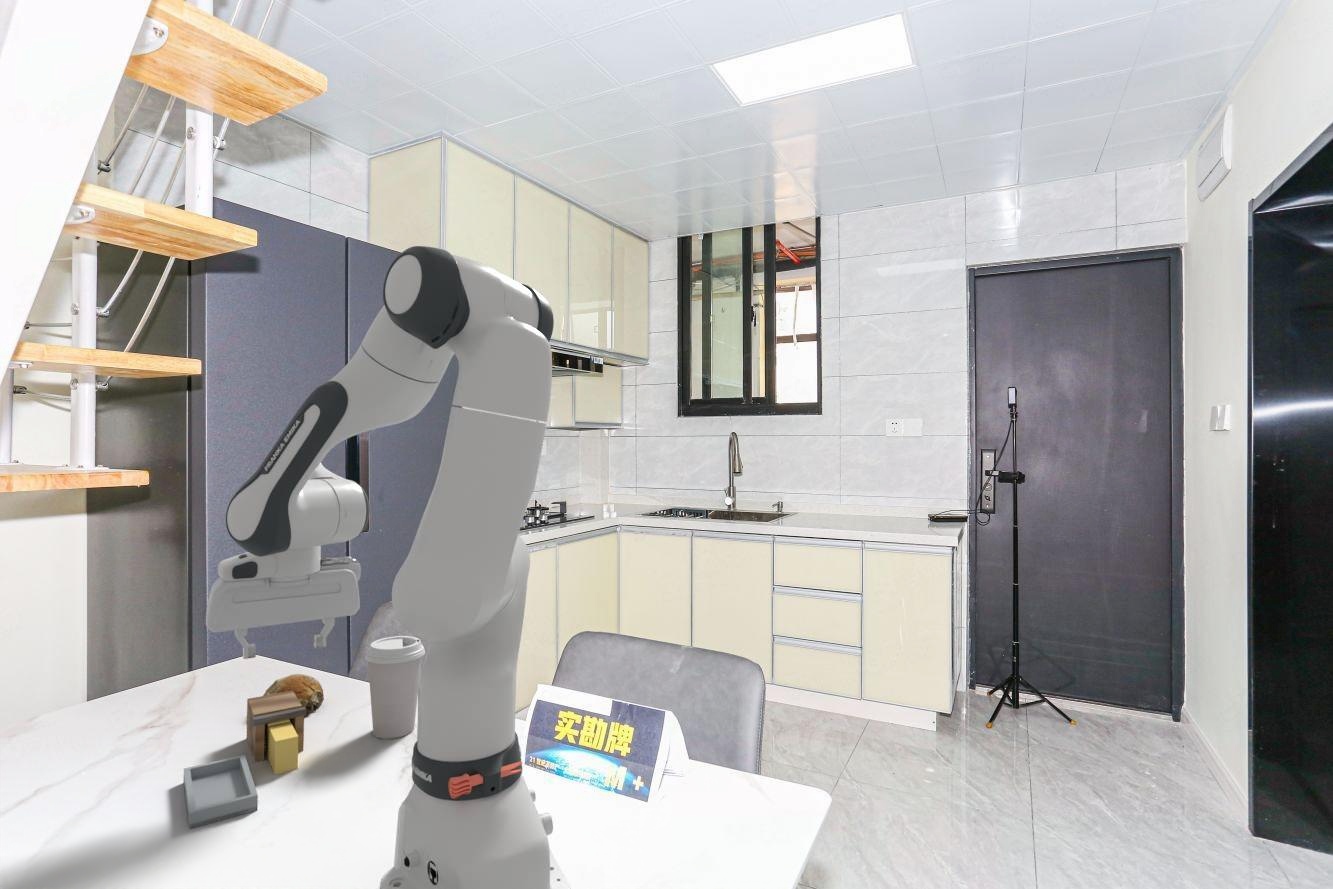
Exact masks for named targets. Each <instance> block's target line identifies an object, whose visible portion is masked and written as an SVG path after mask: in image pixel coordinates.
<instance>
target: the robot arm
mask: <svg viewBox="0 0 1333 889" xmlns="http://www.w3.org/2000/svg"><path fill="white" fill-rule="evenodd" d="M382 287H383V288H382V299H383V306H382V308H381V309H380V310H379V311H378V314H377V315H376V316H375V318H374V320H373V321H372V323H371V324H370V326H369V328H368V330H367V332H366V334H365V336H364V338H363V339H362V341H361V343H360V345H359V347H358V349H357V350H356V352H355V353H354V355H353V356H352V357H351V359H350V360H349V362H347V364H346V365H345V366H344V367H343V368H342V369H341V370H340V371H339V372H338V373H336V375H335V376H333V377H332V378H331V379H330V380H328V381H327V382H324V383H323V384H321V385H319V386H317V387H316V388H315V389H313V391H312V392H311V393H310V394H309V395H308V396H307V398H306V399H305V400H304V401H303V403H302V404H301V406H300V407H299V408H298V409H297V411H296V412H295V414H294V416H293V417H292V418H291V420H290V421H289V423H288V424H287V426H286V427H285V429H284V430H283V431H282V433H281V435H280V436H279V437H278V438H277V440H276V442H275V443H274V444H273V445H272V448H271V449H270V451H269V452H268V454H267V455H266V456H265V458H264V460H263V461H262V463H261V464H260V466H259V467H258V468H257V470H256V471H255V472H254V473H253V474H252V475H251V476H250V477H249V478H248V479H247V480H246V481H245V482H244V483H243V484H242V485H241V486H240V487H239V488H238V490H237V491H236V492H235V493H234V494H233V496H232V498H231V500H230V502H229V503H228V506H227V509H226V513H225V526H226V530H227V533H228V535H229V536H230V538H231V539H232V540H233V541H234V542H235V543H236V544H237V545H238V546H239V547H240V548H242V549H244V550H245V551H246V552H244V553H240V554H237V555H234V556H232V557H228V558H226V559H223V560H221V561H220V562H219V563H218V566H217V573H218V576H219V578H218V579H216V580H215V581H214V582H213V584H212V586H211V588H210V591H209V596H208V600H207V606H206V613H205V625H206V628H208V630H209V631H210V632H212V633H221V632H229V631H230V632H231V631H234V636H235V639H237V641H238V642H239V644H240V645H241V647H242V659H243V660H248V659H254V658H256V657H257V656H256V655H257V653H256V649H257V646H256V644H255V643H254V642H253V643H248V642H247V640H246V639H245V637H247V636H248V629H254V628H264V627H270V626H271V627H272V626H278V625H286V624H294V623H302V622H309V621H311V622H312V621H318V620H319V621H320V620H321V622H322V623H323V624H324V625H323V627H322V629H321V631H320V633H319V634H313V640H314V642H313V647H314V648H315V649H322V648H326V647H327V637H328V635H329V634H330V633H331V632H332V629H333V628H334V626H335V624H336V618H342V617H343V618H344V617H348V616H349V617H350V616H351V617H352V616H354V615H356V613H357V612H358V611H360V590H359V584H358V582H359V581H360V580H361V576H362V574H361V572H362V566H361V563H360V561H359V560H357V559H355V558H352V556H341V557H321V556H322V554H321V552H322V549H321V548H322V546H326V545H333V544H340V543H341V544H342V543H345V542H348V541H351V540H355V539H357V538H358V537H360V536H361V535H362V533H363V532H364V531H365V529H366V527H367V524H368V522H369V519H370V509H371V508H370V501H369V500H370V499H369V497H368V494H367V492H366V491H365V489H364V488H363V486H361V485H360V483H358V482H357V481H355V480H352V479H347V478H345V477H342V476H340V475H337V474H336V473H333V471H330V470H329V469H327V468H326V467H325V466H324V465H323V464H322V462H323V460H324V458H325V457H326V456H327V454H328V453H329V452H330V451H331V450H332V449H333V448H334V447H335V446H337V445H339V444H341V443H342V442H343V441H345V440H348V439H350V438H352V437H354V436H357V435H360V434H362V433H365V432H369V431H372V430H376V429H380V428H385V427H388V426H394V425H397V424H400V423H404V422H406V421H409V420H411V419H413V418H414V417H416V416H417V415H418V414H420V413H421V411H422V410H423V409H424V408H425V407H426V406H427V405H428V403H429V402H430V401H431V399H432V398H433V396H434V394H435V393H436V391H437V389H438V387H439V385H440V383H441V380H442V379H443V376H444V375H445V373H446V371H447V368H448V366H449V364H450V362H451V360H452V358H453V357H454V355H455V357H456V358H457V361H458V376H457V381H456V385H455V390H454V393H453V398H452V403H451V405H452V406H451V407H450V414H449V420H448V425H447V429H446V435H445V439H444V445H443V450H442V456H441V461H440V465H439V469H438V473H437V477H436V479H435V483H434V485H433V488H432V491H431V494H430V496H429V499H428V502H427V504H426V507H425V508H424V509H425V510H424V512H423V514H422V517H421V520H420V522H419V526H418V528H417V531H416V534H415V536H414V539H413V542H412V545H411V548H410V551H409V553H408V554H407V557H406V558H405V560H404V562H403V564H402V565H401V567H400V568H399V570H398V572H397V573H396V575H395V577H394V580H393V584H392V588H391V589H392V590H391V602H392V607H393V610H394V613H395V616H396V618H397V619H398V621H399V622H400V623H401V626H403V628H405V629H406V630H407V631H408V632H409V633H411V634H412V635H414V637H416V638H418V639H421V640H425V641H429V644H428V648H427V651H426V656H425V658H424V661H423V664H422V665H421V670H420V676H419V681H418V698H417V726H416V728H417V731H416V732H417V734H416V735H417V738H416V740H417V741H416V742H415V743H414V745H413V748H412V750H413V751H412V755H411V765H410V766H411V771H412V773H411V779H412V781H413V784H412V786H411V789H410V791H409V793H408V794H407V796H406V798H405V799H404V800H403V802H402V803H401V804H400V806H399V808H398V813H397V814H398V815H397V824H396V836H395V846H394V858H393V859H394V860H393V867H392V868H390V869H389V870H388V871H387V872H386V873H385V874H384V875H383V876H382V878H381V879H380V882H379V889H571V888H572V887H571V886H570V883H569V882H568V880H567V878H566V877H565V874H564V873H563V870H562V868H561V867H560V865H559V863H558V861H557V860H556V858H555V856H554V854H553V853H552V850H551V849H550V844H549V838H548V836H549V835H552V833H553V831H554V824H553V817H552V815H551V814H550V812H544V813H541V814H539V813H538V810H537V806H536V805H535V802H536V791H535V790H534V789H529V788H528V785H527V783H526V781H525V779H524V778H525V777H524V776H523V761H522V750H521V746H520V743H519V735H518V733H517V732H516V704H517V702H516V701H517V700H516V695H517V691H516V690H517V671H518V670H517V668H518V662H519V652H520V648H521V647H520V646H521V639H522V634H523V627H524V617H525V609H526V600H527V592H528V591H527V589H528V580H529V574H530V569H531V568H530V567H531V555H530V552H529V548H528V545H527V544H526V542H525V541H524V539H523V538H522V537H521V536H520V535H519V533H520V530H521V526H522V523H523V521H524V517H525V514H526V511H527V507H528V505H529V503H530V499H531V497H532V495H533V493H534V492H535V487H536V484H537V477H538V471H539V468H540V467H539V466H540V461H541V456H542V450H543V445H544V440H545V433H546V429H547V428H546V427H547V422H548V417H549V412H550V411H549V410H550V405H551V404H550V403H551V396H552V382H553V380H552V379H553V358H552V357H553V354H552V346H551V344H550V341H551V339H552V337H553V336H552V335H553V331H554V321H555V320H554V313H553V310H552V306H551V304H550V303H549V302H548V301H547V299H546V298H545V297H544V296H543V295H541V294H540V292H538V291H536V289H534V288H532V287H530V286H529V285H527V284H524V283H519V282H518V281H516V280H514V279H512V278H510V277H509V276H507V275H506V274H503V273H501V272H499V271H497V270H495V269H494V268H492V267H491V266H488V265H487V264H483V263H481V262H478V261H475V260H473V259H469V258H467V257H462V256H460V255H456V254H451V252H449V251H448V250H445V249H442V248H438V247H432V246H427V245H426V246H422V245H418V246H417V245H415V246H410V247H409V248H406V249H405V250H403V251H401V253H400V254H399V255H398V256H397V257H396V258H395V259H394V260H393V262H391V264H390V266H389V267H388V270H387V272H386V275H385V278H384V282H383V286H382ZM467 408H469V409H467ZM473 409H474V410H473ZM480 410H481V411H480ZM489 412H490V413H489ZM500 414H501V415H500ZM527 419H528V420H527ZM543 422H544V423H543Z"/></svg>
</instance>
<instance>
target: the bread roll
mask: <svg viewBox="0 0 1333 889" xmlns="http://www.w3.org/2000/svg"><path fill="white" fill-rule="evenodd" d="M287 691H293V692H294V693H295V695H296V697H297V698H298V700H299V702H300V703H301V705H302V707H305V708H306V716H308V715H311V714H313V713H315V712H316V711H317V710H318V709H319V708H320V707H321V706H322V704H323V701H324V700H325V698H324V689H323V687H322V685H321V683H320V681H319V680H318V679H316V678H315V677H314V676H311V675H308V674H303V673H295V674H290V675H288V676H284V677H281V678H278V679H276V680H275V681H273V683H272V684H270V686H268V688H267V689H266V690H265V692H264V693H263V695H262V696H265V695H271V694H276V693H282V692H287Z"/></svg>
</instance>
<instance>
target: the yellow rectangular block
mask: <svg viewBox="0 0 1333 889" xmlns="http://www.w3.org/2000/svg"><path fill="white" fill-rule="evenodd" d="M264 753H265V754H266V757H267V759H268V761H269V764H270V766H272V767H271V769H272V771H273V774H274V775H278V773H279V774H282V772H283V773H286V771H287V772H291V771H294V769H295V770H297V769H298V768H299V752H298V735H297V733H296V731H295V729H294V727H293V725H292V724H291V722H290V720H289V719H286V720H282V721H277V722H272V723H267V724H265V737H264Z"/></svg>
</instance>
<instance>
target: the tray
mask: <svg viewBox="0 0 1333 889" xmlns="http://www.w3.org/2000/svg"><path fill="white" fill-rule="evenodd" d="M183 789H184V797H185V798H184V799H185V806H186V814H187V822H188V829H189V830H190V829H193V828H197V827H201V826H204V825H209V824H211V823H215V822H219V821H222V820H227V819H231V818H233V817H237V816H240V815H244V814H249V813H252V812H255V811H258V804H259V803H258V802H259V800H258V799H259V797H258V796H259V795H258V792H257V788H256V785H255V782H254V779H253V776H252V772H251V771H250V767H249V764H248V760H247V758H246V754H241V755H237V756H233V757H229V758H223V759H220V760H216V761H210V762H206V763H203V764H198V765H193V766H188V767H186V768H183Z"/></svg>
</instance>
